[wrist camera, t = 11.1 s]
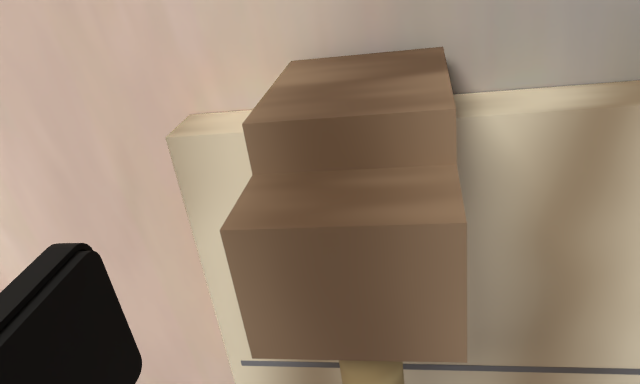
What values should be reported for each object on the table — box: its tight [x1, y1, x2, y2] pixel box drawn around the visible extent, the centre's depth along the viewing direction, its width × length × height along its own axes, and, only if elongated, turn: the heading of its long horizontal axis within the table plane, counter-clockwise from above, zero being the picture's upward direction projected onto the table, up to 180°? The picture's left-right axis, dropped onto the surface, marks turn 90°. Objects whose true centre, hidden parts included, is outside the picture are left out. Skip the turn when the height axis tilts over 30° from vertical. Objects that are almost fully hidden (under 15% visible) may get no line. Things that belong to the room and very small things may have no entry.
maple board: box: [166, 80, 640, 384], centre depth 17 cm, size 24×12×2 cm, turn 98°
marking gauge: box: [220, 47, 467, 384], centre depth 15 cm, size 4×13×8 cm, turn 8°
